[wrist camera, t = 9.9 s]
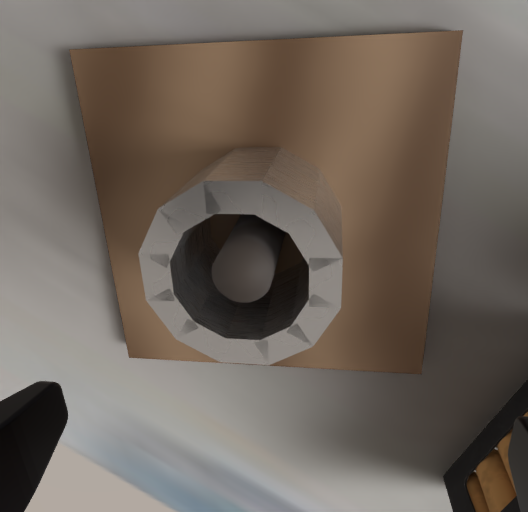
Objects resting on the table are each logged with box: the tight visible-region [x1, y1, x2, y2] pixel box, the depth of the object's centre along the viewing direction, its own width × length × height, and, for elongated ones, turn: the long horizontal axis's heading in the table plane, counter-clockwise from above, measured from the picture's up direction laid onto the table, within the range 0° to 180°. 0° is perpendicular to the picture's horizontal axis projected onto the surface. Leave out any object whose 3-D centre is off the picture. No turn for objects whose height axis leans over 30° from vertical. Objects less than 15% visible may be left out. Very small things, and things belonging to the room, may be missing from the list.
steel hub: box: [138, 147, 343, 365], centre depth 17 cm, size 6×6×5 cm
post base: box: [70, 30, 463, 374], centre depth 17 cm, size 14×14×6 cm
